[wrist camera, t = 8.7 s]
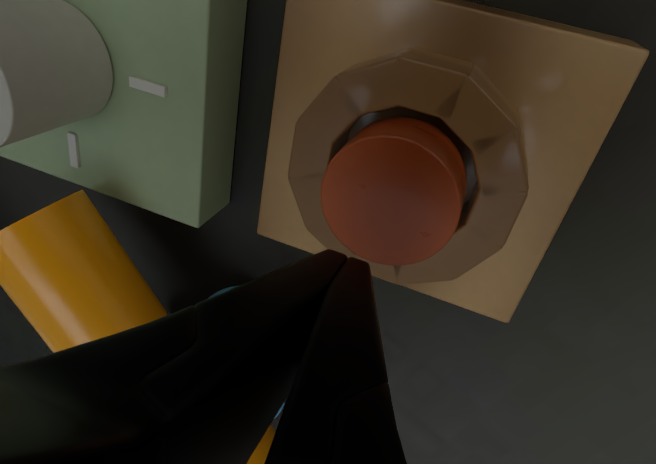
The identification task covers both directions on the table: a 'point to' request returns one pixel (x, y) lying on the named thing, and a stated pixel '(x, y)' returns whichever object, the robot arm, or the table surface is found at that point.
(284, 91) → the button block
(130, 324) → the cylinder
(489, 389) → the table surface
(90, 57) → the dial
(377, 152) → the top button
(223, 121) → the dial panel
